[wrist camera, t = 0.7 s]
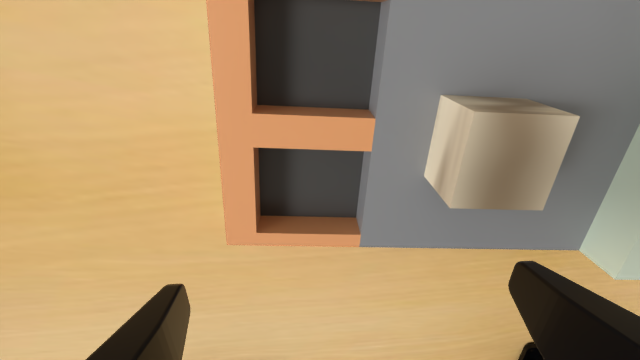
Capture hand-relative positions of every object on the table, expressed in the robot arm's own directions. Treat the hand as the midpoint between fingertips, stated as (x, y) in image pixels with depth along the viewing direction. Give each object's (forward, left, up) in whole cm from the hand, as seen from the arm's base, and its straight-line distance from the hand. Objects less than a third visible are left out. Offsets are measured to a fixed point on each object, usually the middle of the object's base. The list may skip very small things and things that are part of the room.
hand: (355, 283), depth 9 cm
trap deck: (-8, -1, -14) cm, 16 cm away
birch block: (-9, -1, -12) cm, 14 cm away
